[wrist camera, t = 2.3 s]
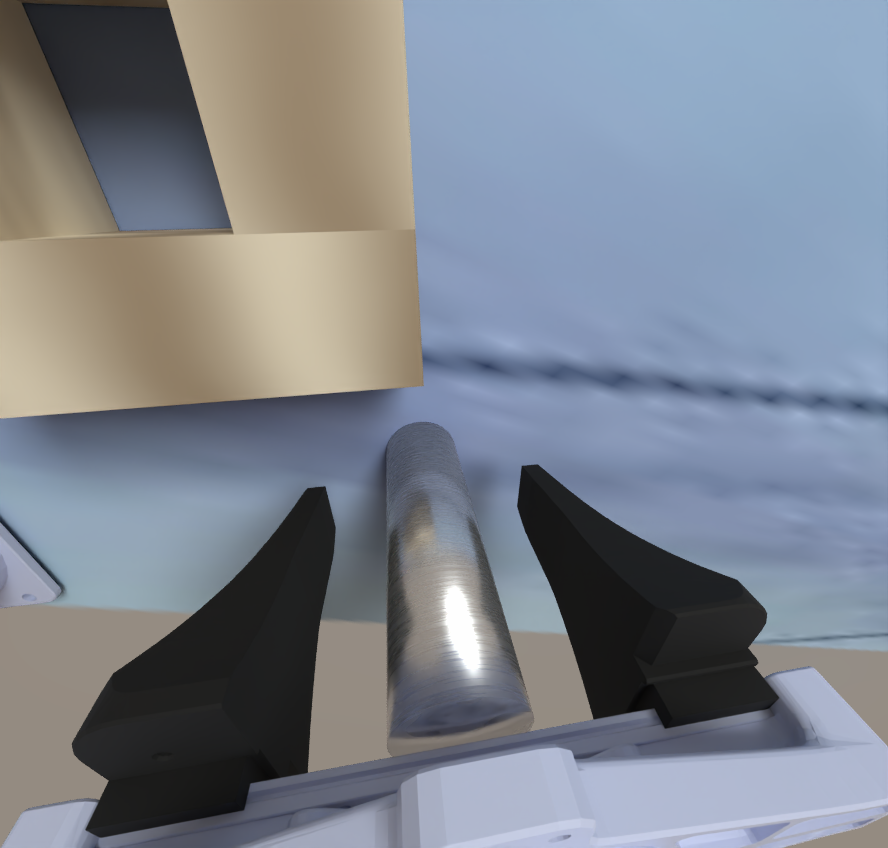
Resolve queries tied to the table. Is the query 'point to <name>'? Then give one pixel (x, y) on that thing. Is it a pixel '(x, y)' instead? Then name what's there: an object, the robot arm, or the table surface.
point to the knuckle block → (220, 249)
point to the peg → (442, 607)
